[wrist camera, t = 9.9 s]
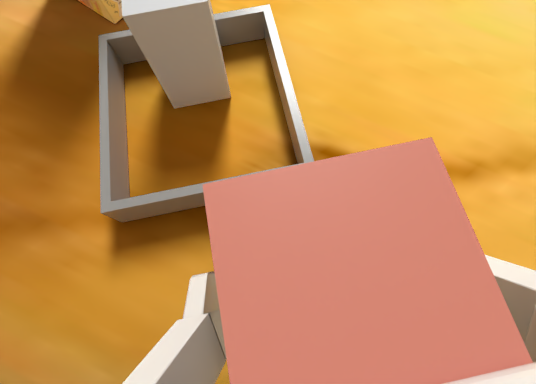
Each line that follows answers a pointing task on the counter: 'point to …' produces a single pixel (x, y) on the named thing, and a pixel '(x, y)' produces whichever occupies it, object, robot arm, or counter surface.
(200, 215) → the counter surface
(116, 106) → the grey square frame
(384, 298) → the cream carton
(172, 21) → the tall white block
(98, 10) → the candy box
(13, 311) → the counter surface
